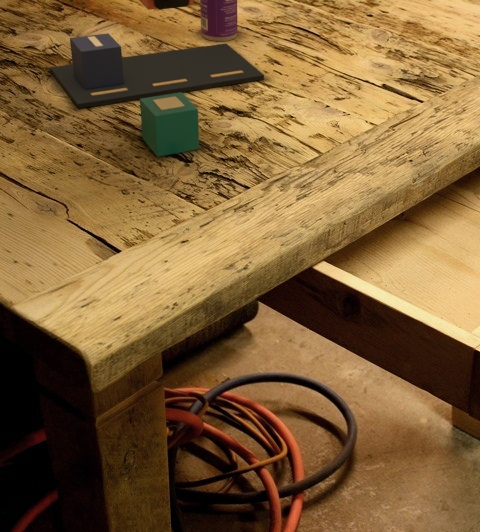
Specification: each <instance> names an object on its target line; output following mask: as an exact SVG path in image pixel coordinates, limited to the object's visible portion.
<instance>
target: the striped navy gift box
mask: <svg viewBox="0 0 480 532" xmlns="http://www.w3.org/2000/svg"><path fill="white" fill-rule="evenodd" d="M69 44H70V53H71V60H72V61H71V64H73V73H74V76H75V77H76V79H77V80H78V81H79V82H80V84H81V85H82V86H83V87H84V89H93V88H99V87H106V86H113V85H119V84H124V78H123V65H122V57H123V53H122V46H121V45H120V44H119V43H118V41H117V40H115V39H114V38H113V36H112V35H111V34H110V33H109V32H108V33H99V34H91V35H83V36H75V37H70V38H69Z"/></svg>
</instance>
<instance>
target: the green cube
mask: <svg viewBox="0 0 480 532" xmlns="http://www.w3.org/2000/svg"><path fill="white" fill-rule="evenodd" d="M139 107H140V121H141V122H140V123H141V137H142V140H143V141H144V142H145V144H146V145H147V146H148V147H149V148H150V149H151V151H152V152H153V154H155V155H156V157H158V158H160V157H165V156H169V155H175V154H179V153H185V152H190V151H196V150H199V149H200V133H199V132H200V130H199V128H200V127H199V108H198V107H197V106H196V105H195V104H194V103H193V102H192V101H190V99H189V98H188V97H187V96H186V95H185V94H184V92H180V93H173V94H167V95H161V96H154V97H148V98H142V99H139Z"/></svg>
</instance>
